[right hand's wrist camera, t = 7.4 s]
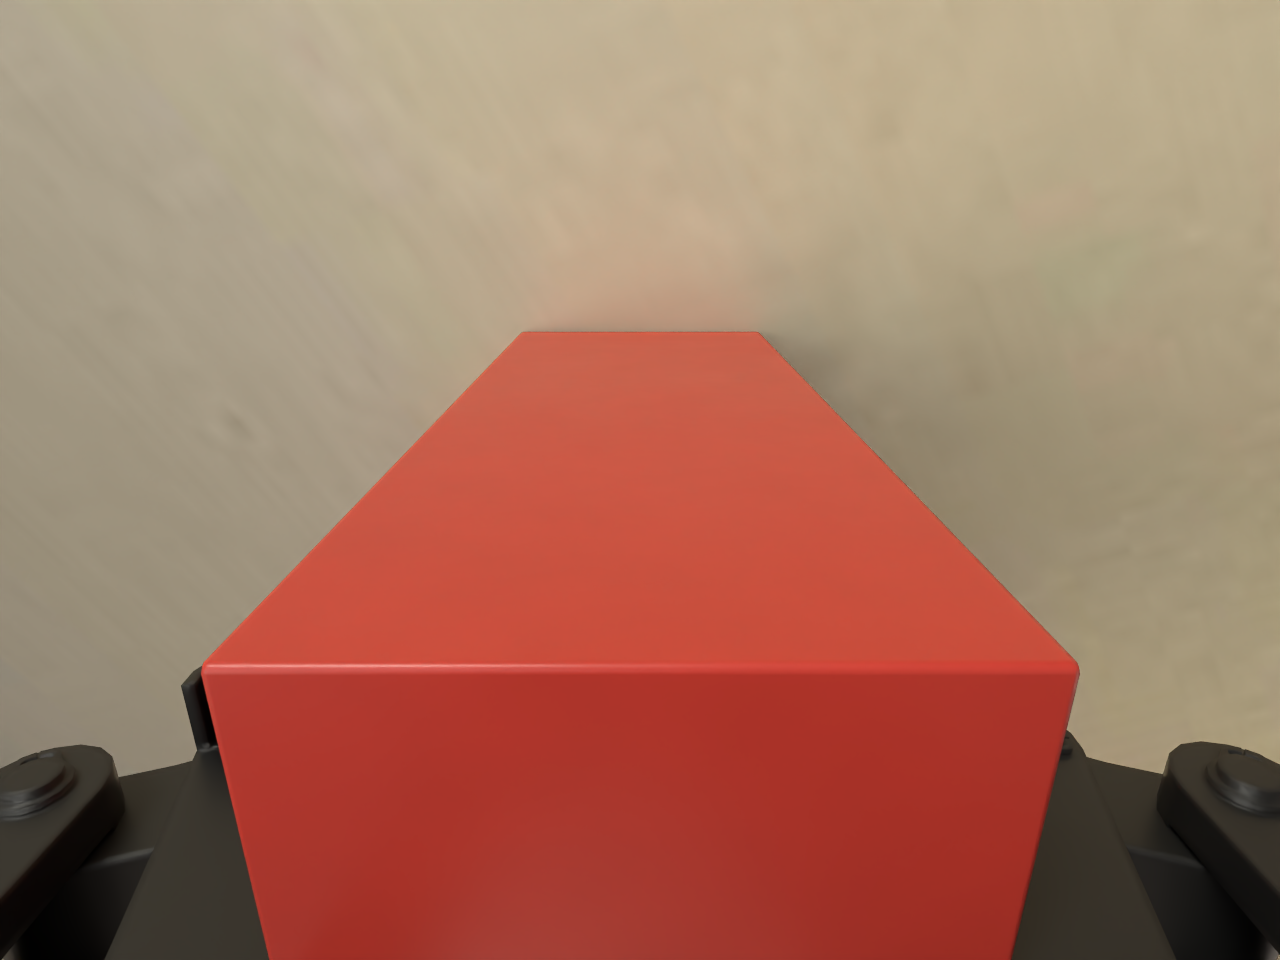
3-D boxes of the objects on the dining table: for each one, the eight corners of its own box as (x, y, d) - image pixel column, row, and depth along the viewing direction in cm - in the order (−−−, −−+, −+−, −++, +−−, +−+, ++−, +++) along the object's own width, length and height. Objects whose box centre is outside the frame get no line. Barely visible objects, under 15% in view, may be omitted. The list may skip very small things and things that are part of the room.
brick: (538, 648, 18) (367, 1384, 7) (520, 331, 15) (192, 666, 4) (742, 648, 18) (912, 1384, 7) (759, 331, 15) (1086, 666, 4)
